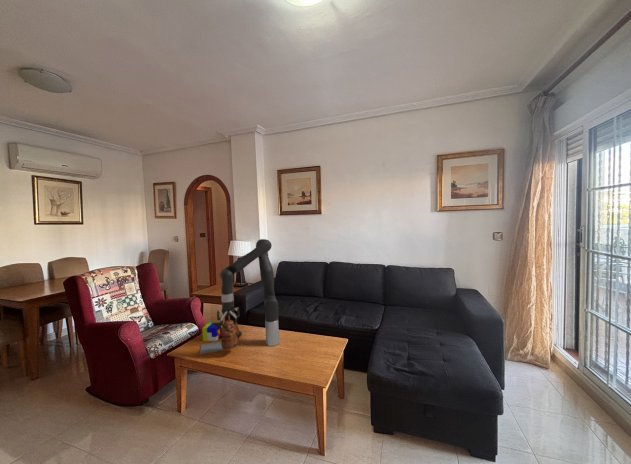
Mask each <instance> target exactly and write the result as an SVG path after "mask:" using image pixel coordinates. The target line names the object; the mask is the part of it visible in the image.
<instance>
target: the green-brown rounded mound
mask: <svg viewBox="0 0 631 464" xmlns="http://www.w3.org/2000/svg"><path fill="white" fill-rule="evenodd" d="M238 332H239V334H238V336H237V337H238V339H239V338H240V337H241V336H242V335H243V333H242V331H240V328H239V327H238ZM221 338H222V336H221V335H220V337H219V339H220V340H221Z"/></svg>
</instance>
